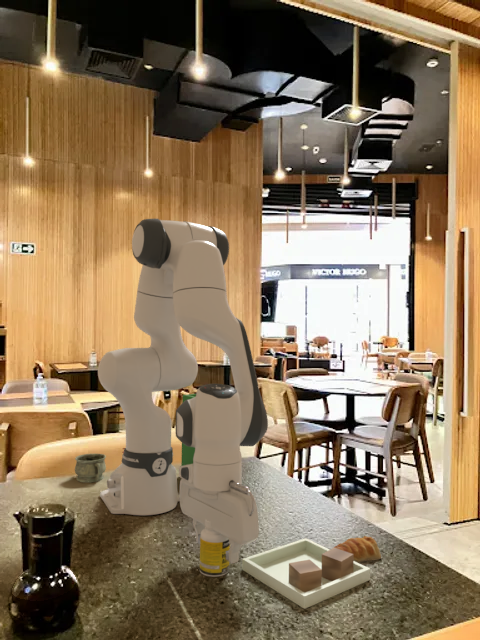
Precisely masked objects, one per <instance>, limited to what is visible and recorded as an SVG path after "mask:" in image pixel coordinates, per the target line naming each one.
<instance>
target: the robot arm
mask: <svg viewBox="0 0 480 640" xmlns="http://www.w3.org/2000/svg"><path fill="white" fill-rule="evenodd" d="M131 249H132V255H133V257H134V259H135V260H136V262H138V264H140V265H142V266H141V270H140V274H139V278H138V284H137V292H136V300H135V306H134V312H133V313H134V315H133V319H134V322H135V325H136V327H137V328H138V329H139V330H141V331H142V332H143V333H145V334H146V335H148V336H150V337H149V338H150V347H149V346H148V347H125V348H120V349H115V350H111V351H106V352H105V354H104V355H102V357H101V359H100V361H99V364H98V367H97V376H98V381H99V383H100V384H101V386H102V387H103V389H104V390H105V391H106V392H108V393H109V394H111V395H112V396H113V397H114V398H115V400H117V402H118V404H119V406H120V407H121V410H122V412H123V416H124V426H125V447H123V448H122V450H123V451H122V454H121V455H122V458H121V463H120V464H119V465H118V466H117V467H116V469H114V470H113V471H112V472H111V473H110V476H109V478H108V479H107V481H106V487H107V489H105V490H104V489H103V490H102V491H100V493H99V496H100V498H101V500H102V501H103V502H104V503H103V504H105V506H106V508H107V509H108V511H109V512H110V513H111V514H114V515H124V514H125V515H131V516H132V515H133V516H153V515H159V514H163V513H167V512H170V511H172V510H173V509H175V508H176V507H177V505H178V502H179V506H180V510H181V512H182V514H184V515H186V516H187V517H189V518H191V519H192V525H193V529H194V532H195V536H196V539H195V540H196V543H197V544H199V545H200V536H201V531H202V530H203V529H204V528H206V527H205V519H206V520H208V521H210V522H211V527H212V529H213V530H215V531H217V532H218V533H220V534H222V535H224V536H226V537H228V538H229V544H230V549H229V550H228V551H226V560H227V561H228V562H229V564H232V565H233V564H236V563H238V562H239V559H240V557H239V555H240V551H241V550H242V547H243V545H247V544H251V543H254V542H255V541H256V540H258V538H259V536H260V527H259V526H260V525H259V523H260V522H259V513H258V505H257V502H256V499H255V496H254V494H253V493H252V492H251V489H250V487H248V486H246V485H242V484H243V482H242V479H243V476H242V474H243V473H242V470H243V469H242V468H243V466H242V465H243V462H242V461H243V457H242V456H243V455H242V452H241V447H254V446H255V445H257V444H258V443H259V442H260V441H261V440H262V439H263V437H264V436H265V435H266V433H267V431H268V426H269V424H268V423H269V420H268V414H267V410H266V406H265V404H264V400H263V397H262V395H261V391H260V387H259V384H258V377H257V373H256V370H255V364H254V360H253V355H252V350H251V346H250V340H249V337H248V334H247V330H246V328H245V325H244V322H243V321H242V320H240V319H239V318H238V317H236V316H235V313H233V311H232V309H231V307H230V304H229V301H228V294H227V291H228V290H227V283H226V282H227V281H226V274H225V268H224V267H225V266H224V265H225V264H226V262H228V261H227V260H228V257H229V255H230V243H229V240H228V237H227V234H226V233H225V232H224V231H223V230H222V229H221V230H220V229H219V228H217V227H214V226H212V225H210V226H209V225H208V226H206V225H204V224H200V223H196V222H192V221H186V220H185V221H180V220H179V221H178V220H171V219H170V220H169V219H168V220H166V219H164V220H163V219H159V218H145V219H142V220H140V222H138V224H137V225H136V226H135V229H134V231H133V235H132V239H131ZM181 329H183V330H184V331H185V332H187V333H188V334H190V335H191V336H193V337H195V338H197V339H200V340H202V341H205V342H207V343H210V344H213V345H214V346H216V347H218V348H219V349H221V350H222V351H223V352H224V353H225V354H226V356H227V358H228V360H229V364H230V368H231V375H232V379H233V384H234V387H233V386H231V385H228V384H222V383H208V384H205V385H204V384H203V385H202V386H199V387H198V388H197V390H196V393H195V394H196V397H194V398H192V399H189V400H185V401H184V402H183V401H182V402H181V404H180V405H179V406H178V408H177V409H176V410H175V437H176V439H178V441H180V442H181V444H182V443H183V444H185V445H186V446H188V447H195V453H194V457H193V464H188V465H184V466H181V465H180V466H179V468H178V476H179V478H180V481H179V492H178V480H177V479H178V478H177V477H178V476H177V468H176V467H175V466H174V465H173V461H174V452H173V449H174V448H173V447H172V419H171V416H170V414H169V413H168V411H167V410H165V409H164V408H162V407H161V406H158V405H155V403H154V400H153V393H155V392H169V391H177V390H180V389H184V388H186V387H190V386H191V385H193V383H194V382H195V381H196V378H197V376H198V372H199V366H198V360H197V358H196V356H195V355H194V354H193V352H192V351H191V350H190V349H188V347H187V346H186V343H185V342H184V339H183V336H182V332H181Z"/></svg>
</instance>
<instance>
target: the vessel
mask: <svg viewBox="0 0 480 640" xmlns="http://www.w3.org/2000/svg"><path fill="white" fill-rule="evenodd" d="M106 458H107V455H106V454H103V453H85V454H80V455H77V456H75V458H74V459H75V461H76V463H75V466H74V473H75V475H76V476H77V477H76V481H77V482H80V483H97V482H100V481H103V479H104V478H105V477H104V475H103V474H104V473H105V472H106V469H107V466H106V462H105V460H106Z"/></svg>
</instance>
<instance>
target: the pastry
mask: <svg viewBox="0 0 480 640" xmlns="http://www.w3.org/2000/svg"><path fill="white" fill-rule="evenodd" d="M333 548H337V549H340V550H343V551H346V552H349V553H351V554H354V559H353V561H355V562H357V563H364V562H368V561H369V562H371V561H376V560H378V561H379V560H381V559H382V554H381V550H380V548H379V546H378V543H377V541H376V540H375V539H374V538H373V537H371V536H367V535H364V536H363V537H350V538H348V539H346V540H345V541H344V542H342V543H341V542H340V543H338V544H337V545H334V547H333Z"/></svg>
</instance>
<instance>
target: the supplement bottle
mask: <svg viewBox="0 0 480 640" xmlns="http://www.w3.org/2000/svg"><path fill="white" fill-rule="evenodd" d="M230 547H231V544H229V538H228V537H226V536H224V535H222V534H220V533H218V532H217V531H215V530H213V529H212V527H211V522H210V521H208V520H206V519H205V528H204V529H203V530H202V531H201V536H200V544H199V572H200V573H201V574H202V575H204V576H206V577H211V578H212V577H213V578H214V577H222V576H224V575H226V574H228V573H229V571H230V562H228V561H227V560H226V551H228V550H229V549H230Z"/></svg>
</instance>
